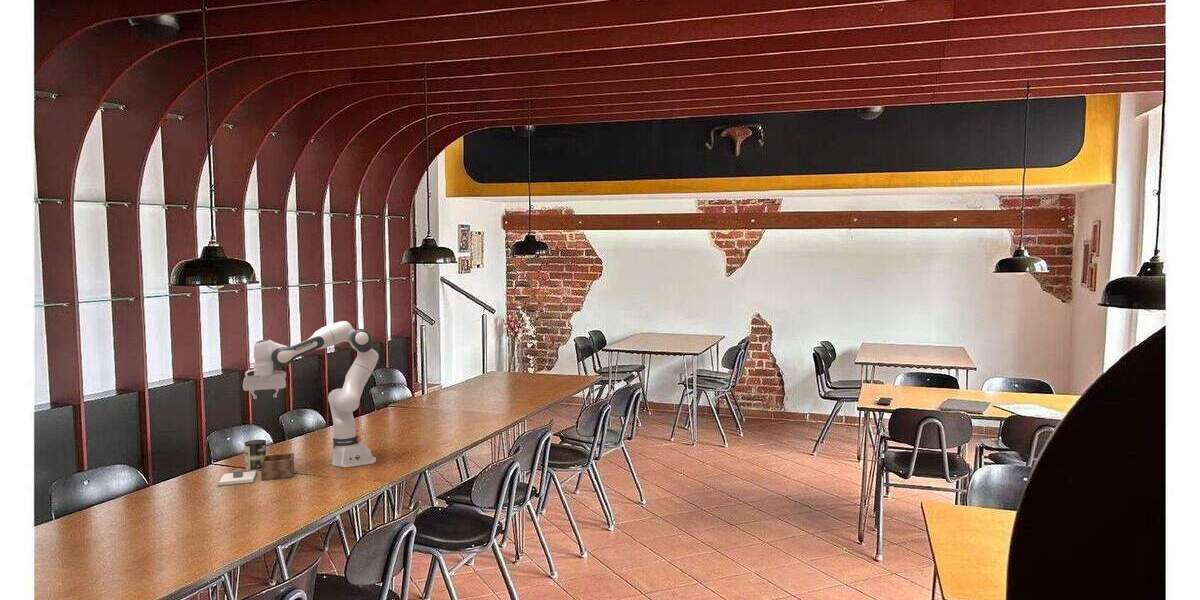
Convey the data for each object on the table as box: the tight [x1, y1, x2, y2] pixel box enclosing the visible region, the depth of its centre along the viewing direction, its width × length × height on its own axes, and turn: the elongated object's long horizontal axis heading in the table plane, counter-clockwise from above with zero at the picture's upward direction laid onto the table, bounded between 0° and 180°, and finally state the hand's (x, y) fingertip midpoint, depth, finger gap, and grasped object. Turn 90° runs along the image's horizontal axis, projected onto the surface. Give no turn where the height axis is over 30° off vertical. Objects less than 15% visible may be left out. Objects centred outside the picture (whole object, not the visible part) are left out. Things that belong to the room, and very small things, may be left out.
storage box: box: [260, 452, 295, 481], centre depth 385 cm, size 14×14×9 cm
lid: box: [218, 468, 258, 485], centre depth 378 cm, size 15×15×4 cm
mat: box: [217, 473, 259, 487], centre depth 378 cm, size 16×16×1 cm
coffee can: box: [243, 439, 267, 472], centre depth 399 cm, size 10×10×14 cm
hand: (265, 398), depth 395 cm, fingers open, 8 cm apart
